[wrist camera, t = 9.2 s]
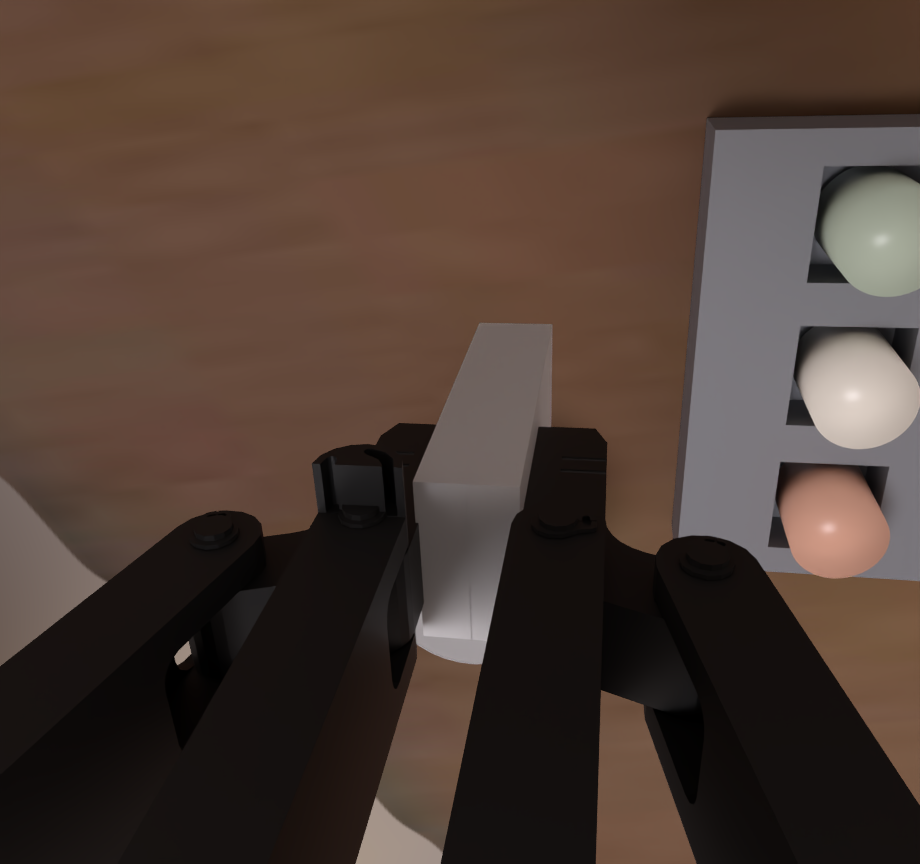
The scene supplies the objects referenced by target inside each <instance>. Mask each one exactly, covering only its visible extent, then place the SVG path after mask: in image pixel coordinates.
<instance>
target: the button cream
mask: <svg viewBox="0 0 920 864" xmlns="http://www.w3.org/2000/svg"><path fill="white" fill-rule="evenodd" d="M793 378H794V380H795V382H796V384H797V387H798V389H799V391H800V393H801V396H802V398H803V400H804V402H805V404H806V407H807V409H808V411H809V413H810V415H811V418H812V420H813V422H814V424H815V426H816V428H817V429H818V431H819V432H820V433H821V434H822V435H823V436H824V437H825V438H826V439H827V440H829V441H830V442H832V443H834V444H836V445H838V446H841V447H845V448H850V449H869V448H874V447H878V446H881V445H884V444H886V443H888V442H890V441H892V440H894V439H895V438H897V437H898V436H900V435H901V434H902V433H903V432H904V431H906V430H907V429H908V427H909V426H910V425H911V424H912V422H913V421H914V419H915V417H916V415H917V413H918V410H919V407H920V387H919V385H918V382H917V380H916V378H915V376H914V375H913V374H912V373H911V371H910V370H909V369H908V367H907V366H906V365H905V364H904V362H903V361H902V360H901V358H900V357H899V356H898V354H897V353H896V352H895V351H894V349H893V348H892V347H891V345H890V344H889V343H888V341H887V340H886V339H885V338H884V336H883V335H882V334H881V332H880V331H879V330H878V329H877V328H876V327H831V326H814V327H813V328H811V329H810V330H809V331H808V332H807V333H805V334H804V335H803V337H802V338H801V339H800V340H799V342H798V346H797V353H796V360H795V366H794V373H793Z"/></svg>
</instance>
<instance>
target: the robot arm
mask: <svg viewBox="0 0 920 864" xmlns="http://www.w3.org/2000/svg"><path fill="white" fill-rule="evenodd" d="M551 397H552V324H510V323H479V325H478V328H477V330H476V332H475V335H474V337H473V339H472V342H471V344H470V347H469V349H468V351H467V354H466V356H465V358H464V361H463V363H462V366H461V368H460V370H459V373H458V375H457V377H456V380H455V382H454V385H453V387H452V389H451V392H450V394H449V396H448V399H447V401H446V404H445V406H444V408H443V411H442V413H441V415H440V418H439V420H438V423H437V425H434V424H408V423H399V424H397V425H396V426H394V427H393V428H391V429H390V430H388V431H387V432H385V433H384V434H383V435H381V437H380V438H379V440H378V442H377V444H376V445H370V444H362V445H349V446H345V447H341V448H336V449H333V450H331V451H329V452H327V453H325V454H322V455H320V456H319V457H318V458H317V459H316V460H315V461H314V462H313V463H312V468H313V476H314V483H315V491H316V499H317V506H318V514H317V516H316V518H315V519H314V521H313V523H312V525H311V526H310V528H309V529H308V530H305V531H300V532H295V533H289V534H281V535H274V536H266V537H263V532H262V526H261V523H260V522H259V521H258V520H257V519H256V518H255V517H254V516H252V515H249V514H246V513H244V512H237V511H219V512H217V511H214V512H209V513H206V514H204V515H201V516H198V517H195V518H192V519H190V520H188V521H187V522H185V523H183V524H182V525H180V526H178V527H177V528H176V529H174V530H173V531H172V532H170V533H169V534H168V535H167V536H165V537H164V538H163V539H162V540H160V541H159V542H158V543H156V544H155V545H154V546H153V547H151V548H150V549H149V550H148V551H146V552H145V553H144V554H142V555H141V556H140V557H139V558H137V559H136V560H135V561H134V562H132V563H131V564H130V565H128V566H127V567H126V568H125V569H123V570H122V571H121V572H120V573H118V574H117V575H116V576H114V577H113V578H112V579H111V580H109V581H108V582H107V583H106V584H104V585H103V586H102V587H101V588H99V589H98V590H97V591H96V592H94V593H93V594H92V595H90V596H89V597H88V598H86V599H85V600H84V601H83V602H81V603H80V604H79V605H78V606H77V607H75V608H74V609H73V610H71V611H70V612H69V613H67V614H66V615H65V616H64V617H63V618H61V619H60V620H59V621H57V622H56V623H55V624H53V625H52V626H51V627H50V628H48V629H47V630H46V631H45V632H43V633H42V634H41V635H39V636H38V637H37V638H36V639H34V640H33V641H32V642H31V643H29V644H28V645H27V646H25V647H24V648H23V649H22V650H20V651H19V652H18V653H17V654H15V655H14V656H13V657H12V658H10V659H9V660H8V661H6V662H5V663H4V664H3V665H1V666H0V864H355V863H356V860H357V857H358V853H359V850H360V847H361V843H362V840H363V836H364V833H365V830H366V826H367V823H368V820H369V816H370V813H371V810H372V806H373V803H374V800H375V796H376V793H377V790H378V786H379V783H380V780H381V776H382V773H383V770H384V766H385V763H386V760H387V756H388V753H389V750H390V746H391V743H392V740H393V736H394V733H395V730H396V726H397V723H398V719H399V716H400V713H401V709H402V706H403V703H404V699H405V696H406V693H407V689H408V686H409V683H410V679H411V676H412V673H413V669H414V666H415V663H416V659H417V644H416V631H415V629H416V626H417V623H418V620H419V617H420V614H421V611H422V621H423V635H424V636H431V637H444V638H456V639H469V640H482V641H487V643H486V647H485V652H484V657H483V662H482V667H481V672H480V676H479V681H478V686H477V691H476V696H475V701H474V705H473V710H472V715H471V720H470V725H469V729H468V734H467V739H466V744H465V749H464V754H463V758H462V763H461V768H460V773H459V778H458V782H457V787H456V792H455V797H454V802H453V807H452V811H451V816H450V821H449V826H448V831H447V835H446V840H445V845H444V850H443V855H442V860H441V864H596V834H597V800H598V766H599V732H600V699H601V690H603V691H605V692H608V693H611V694H614V695H617V696H620V697H623V698H626V699H629V700H632V701H635V702H637V703H640V704H643V705H644V714H645V721H646V723H647V726H648V729H649V732H650V735H651V737H652V740H653V743H654V746H655V749H656V751H657V754H658V757H659V760H660V762H661V765H662V768H663V771H664V774H665V776H666V779H667V782H668V785H669V788H670V790H671V793H672V796H673V799H674V802H675V804H676V807H677V810H678V813H679V815H680V818H681V821H682V824H683V827H684V829H685V832H686V835H687V838H688V841H689V843H690V846H691V849H692V852H693V855H694V857H695V860H696V863H697V864H920V805H919V804H918V802H917V801H916V799H915V798H914V796H913V795H912V793H911V792H910V790H909V789H908V787H907V785H906V784H905V782H904V781H903V779H902V778H901V776H900V775H899V773H898V772H897V770H896V769H895V767H894V766H893V764H892V763H891V761H890V760H889V758H888V757H887V755H886V754H885V752H884V751H883V749H882V748H881V746H880V745H879V743H878V742H877V740H876V739H875V737H874V736H873V734H872V733H871V731H870V730H869V728H868V727H867V725H866V724H865V722H864V721H863V719H862V718H861V716H860V714H859V713H858V711H857V710H856V708H855V707H854V705H853V704H852V702H851V701H850V699H849V698H848V696H847V695H846V693H845V692H844V690H843V689H842V687H841V686H840V684H839V683H838V681H837V680H836V678H835V677H834V675H833V674H832V672H831V671H830V669H829V668H828V666H827V665H826V663H825V662H824V660H823V659H822V657H821V656H820V654H819V653H818V651H817V650H816V648H815V646H814V645H813V643H812V642H811V640H810V639H809V637H808V636H807V634H806V633H805V631H804V630H803V628H802V627H801V625H800V624H799V622H798V621H797V619H796V618H795V616H794V615H793V613H792V612H791V610H790V609H789V607H788V606H787V604H786V603H785V601H784V600H783V598H782V597H781V595H780V594H779V592H778V591H777V589H776V588H775V586H774V585H773V583H772V582H771V580H770V578H769V577H768V575H767V574H766V572H765V571H764V569H763V568H762V566H761V565H760V563H759V562H758V560H757V559H756V558H755V557H754V556H753V555H752V554H751V553H750V552H749V551H748V550H747V549H745V548H743V547H741V546H739V545H737V544H735V543H733V542H731V541H729V540H725V539H722V538H717V537H713V536H698V535H690V536H685V537H680V538H675V539H673V540H671V541H669V542H667V543H665V544H664V545H662V546H661V547H660V549H659V551H658V552H657V554H656V555H653V554H649V553H645V552H642V551H639V550H637V549H634V548H631V547H629V546H627V545H625V544H624V543H622V542H620V541H619V540H618V539H616V538H615V537H614V536H613V535H612V534H611V533H610V531H609V530H608V528H607V526H606V521H605V505H606V466H607V442H606V441H605V440H604V439H603V437H602V436H601V435H600V434H599V432H598V431H597V430H596V429H589V428H564V427H551ZM188 641H189V644H190V649H191V653H192V654H191V655H190V656H189V657H188V658H187V659H186V660H185V661H184V662H182V663H181V664H179V665H177V664H176V662H175V658H174V656H175V655H176V653H177V652H178V650H179V649H180V648H181V647H182V646H184V645H185V644H186V643H187V642H188Z"/></svg>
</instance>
